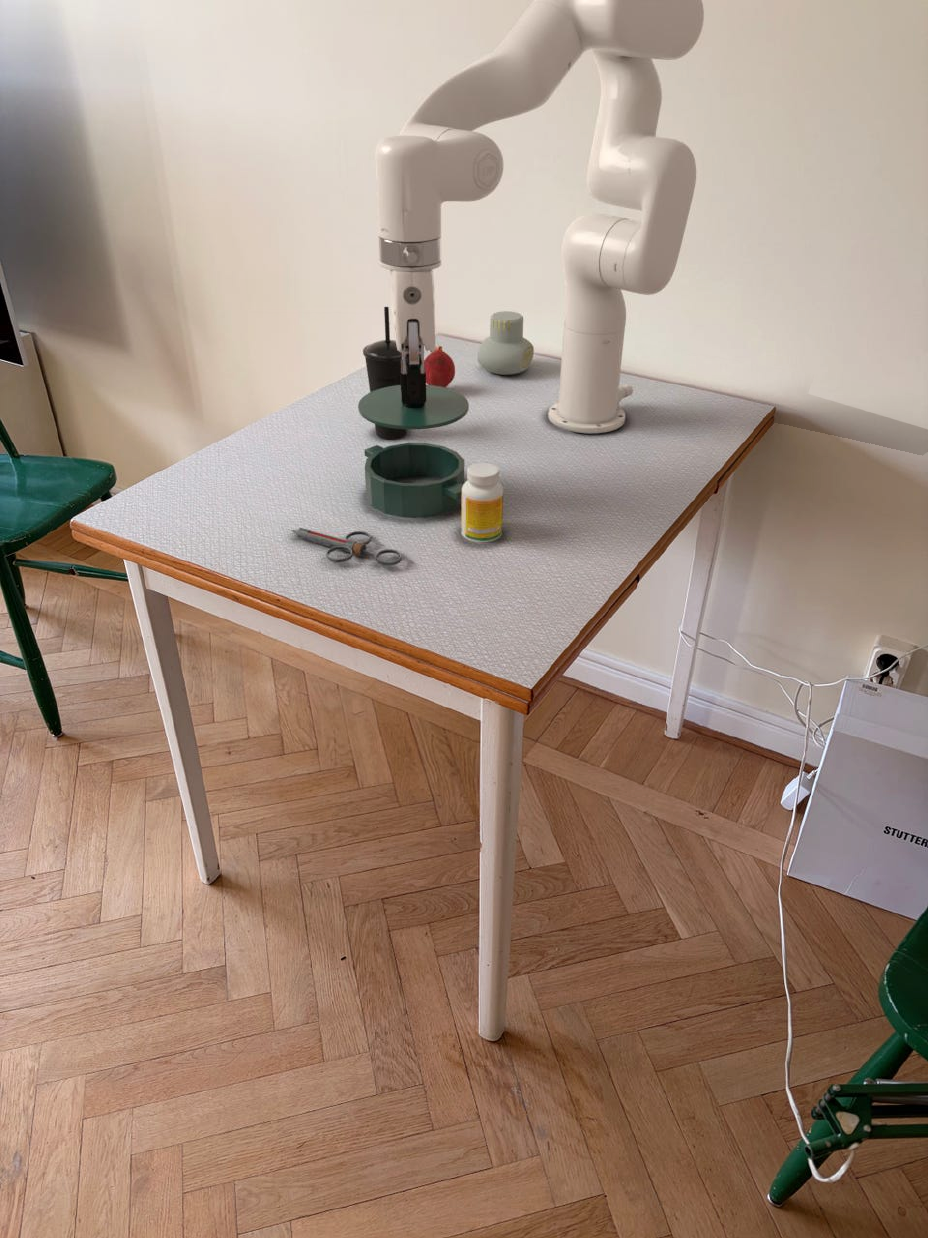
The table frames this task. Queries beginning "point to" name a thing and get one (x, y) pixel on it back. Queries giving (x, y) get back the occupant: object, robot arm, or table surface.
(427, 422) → the lid
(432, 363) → the onion
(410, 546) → the table surface
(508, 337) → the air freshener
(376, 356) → the drinking cup
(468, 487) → the supplement bottle
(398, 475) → the pot
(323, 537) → the syringe
